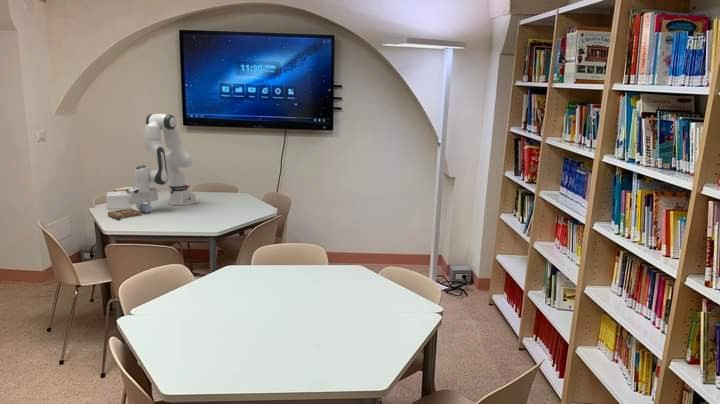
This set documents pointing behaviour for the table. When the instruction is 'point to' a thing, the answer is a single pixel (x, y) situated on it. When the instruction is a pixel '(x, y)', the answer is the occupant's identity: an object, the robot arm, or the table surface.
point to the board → (123, 213)
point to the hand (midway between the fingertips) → (143, 208)
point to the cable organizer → (117, 200)
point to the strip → (145, 207)
